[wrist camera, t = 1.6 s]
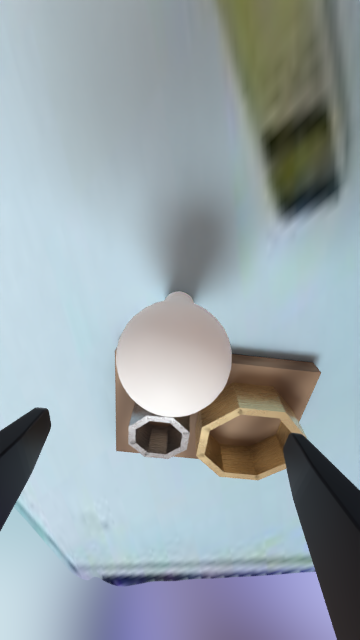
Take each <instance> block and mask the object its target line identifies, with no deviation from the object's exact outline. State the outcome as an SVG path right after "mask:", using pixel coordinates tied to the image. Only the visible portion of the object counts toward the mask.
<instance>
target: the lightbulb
mask: <svg viewBox="0 0 360 640" xmlns="http://www.w3.org/2000/svg"><path fill="white" fill-rule="evenodd" d="M231 363H232V351H231V346H230V342H229V338H228V336H227V334H226V332H225V329H224V328H223V326H222V325H221V324H220V323H219V321H218V320H217V319H216V318H215V317H214V316H213V315H212V314H211V313H210V312H208V311H207V310H206V309H204V308H202V307H201V306H199V305H197V304H194V302H193V300H192V298H191V297H190V296H189V295H188V294H187V293H184V292H180V291H177V292H173V293H170V294H169V295H168V296H167V297H166V298H165V300H164V301H161V302H157V303H154V304H152V305H150V306H148V307H146V308H144V309H143V310H142V311H140V312H139V313H138V314H136V315H135V316H134V317H133V318H132V319H131V320H130V321H129V322H128V323H127V325H126V327H125V329H124V330H123V332H122V334H121V336H120V338H119V342H118V346H117V352H116V365H117V371H118V375H119V379H120V381H121V383H122V385H123V387H124V389H125V390H126V392H127V393H128V395H129V396H130V397H131V398H132V399H133V400H134V401H135V402H136V403H137V404H138V405H140V406H141V407H142V408H144V409H145V410H147V411H149V412H151V413H154V414H156V415H160V416H165V417H182V416H188V415H191V414H194V413H196V412H198V411H200V410H202V409H203V408H205V407H207V406H208V405H209V404H211V403H212V402H213V401H214V400H215V399H216V398H217V396H218V395H219V394H220V393H221V392H222V391H223V389H224V387H225V385H226V383H227V380H228V378H229V374H230V370H231Z"/></svg>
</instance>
